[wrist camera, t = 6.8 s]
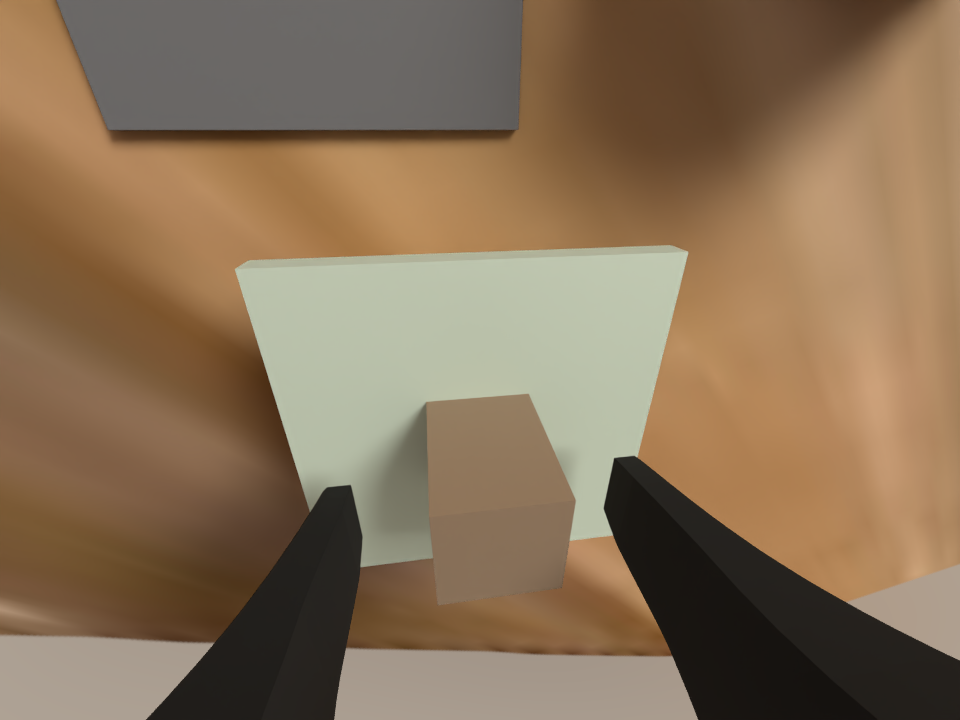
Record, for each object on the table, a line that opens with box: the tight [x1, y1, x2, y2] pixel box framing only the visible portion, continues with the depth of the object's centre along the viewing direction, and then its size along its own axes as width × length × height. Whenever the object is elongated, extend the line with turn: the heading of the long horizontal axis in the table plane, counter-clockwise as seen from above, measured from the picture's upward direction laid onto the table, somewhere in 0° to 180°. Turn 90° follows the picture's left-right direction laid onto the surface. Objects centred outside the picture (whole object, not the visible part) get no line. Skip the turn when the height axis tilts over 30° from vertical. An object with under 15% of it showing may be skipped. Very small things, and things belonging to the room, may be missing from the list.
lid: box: [235, 245, 688, 605], centre depth 11 cm, size 11×11×5 cm
